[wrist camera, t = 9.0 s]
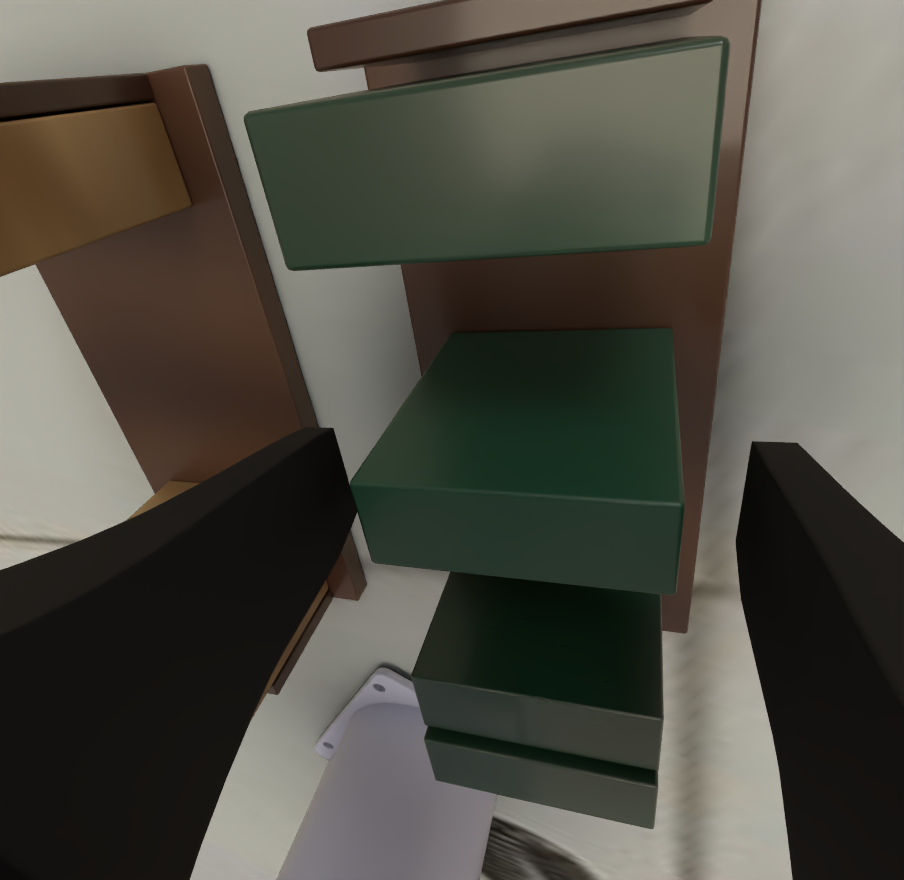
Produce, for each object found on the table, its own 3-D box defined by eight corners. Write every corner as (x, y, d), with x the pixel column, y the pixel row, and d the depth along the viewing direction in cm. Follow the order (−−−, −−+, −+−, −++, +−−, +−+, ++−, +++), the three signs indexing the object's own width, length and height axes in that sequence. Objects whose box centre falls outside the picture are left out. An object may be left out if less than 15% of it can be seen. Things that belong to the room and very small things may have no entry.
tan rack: (367, 584, 22) (272, 766, 16) (211, 565, 24) (82, 720, 18) (207, 63, 13) (-114, 81, 7) (-17, 107, 15) (-392, 146, 10)
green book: (667, 399, 13) (677, 598, 9) (460, 396, 15) (370, 564, 10) (672, 326, 12) (686, 505, 8) (450, 331, 14) (346, 483, 9)
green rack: (686, 613, 18) (701, 860, 13) (469, 588, 20) (402, 789, 15) (759, -33, 10) (897, -125, 4) (373, 40, 12) (136, 42, 6)
